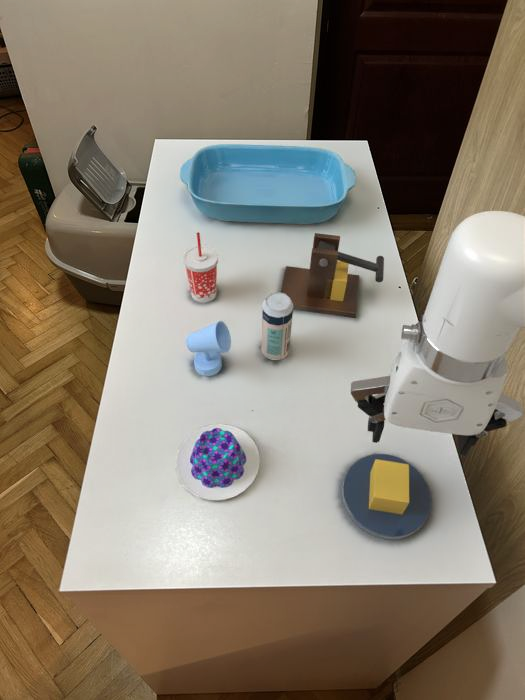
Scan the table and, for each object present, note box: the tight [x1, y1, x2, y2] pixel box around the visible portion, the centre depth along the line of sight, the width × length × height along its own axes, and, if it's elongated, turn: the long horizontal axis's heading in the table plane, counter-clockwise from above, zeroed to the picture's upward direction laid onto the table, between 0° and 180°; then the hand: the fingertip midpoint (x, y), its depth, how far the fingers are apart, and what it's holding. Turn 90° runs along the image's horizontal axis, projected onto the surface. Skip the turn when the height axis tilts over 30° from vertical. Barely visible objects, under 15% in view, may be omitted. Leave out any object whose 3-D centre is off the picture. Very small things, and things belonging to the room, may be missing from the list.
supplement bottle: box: [260, 291, 294, 361], centre depth 85 cm, size 5×5×12 cm
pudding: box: [175, 423, 261, 501], centre depth 75 cm, size 12×12×5 cm
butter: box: [324, 260, 350, 301], centre depth 95 cm, size 4×5×5 cm
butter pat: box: [369, 459, 409, 514], centre depth 71 cm, size 4×6×4 cm
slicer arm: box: [317, 241, 385, 284], centre depth 91 cm, size 12×6×2 cm, turn 80°
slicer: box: [280, 232, 360, 319], centre depth 94 cm, size 14×10×12 cm
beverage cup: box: [182, 232, 219, 303], centre depth 93 cm, size 6×6×14 cm
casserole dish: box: [179, 143, 357, 225], centre depth 113 cm, size 37×22×7 cm, turn 89°
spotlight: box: [185, 320, 232, 377], centre depth 84 cm, size 5×10×7 cm
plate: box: [341, 453, 432, 541], centre depth 73 cm, size 12×12×1 cm
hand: (417, 437), depth 61 cm, fingers open, 9 cm apart
